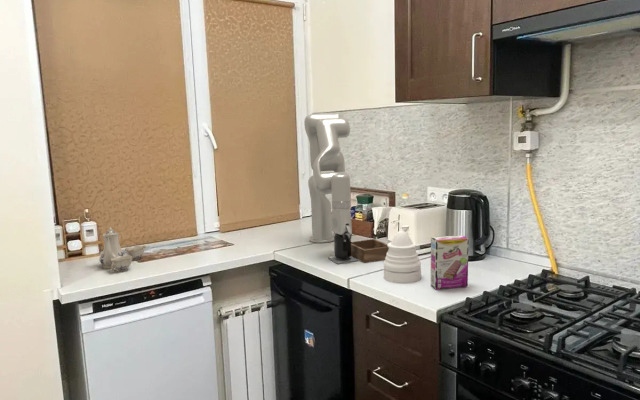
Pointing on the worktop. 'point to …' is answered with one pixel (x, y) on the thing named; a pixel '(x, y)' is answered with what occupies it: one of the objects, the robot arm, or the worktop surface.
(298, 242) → the worktop surface
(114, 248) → the chinaware
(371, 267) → the worktop surface
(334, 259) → the grey mat
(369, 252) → the open-top box
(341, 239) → the supplement bottle
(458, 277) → the candy bar box
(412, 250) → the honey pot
